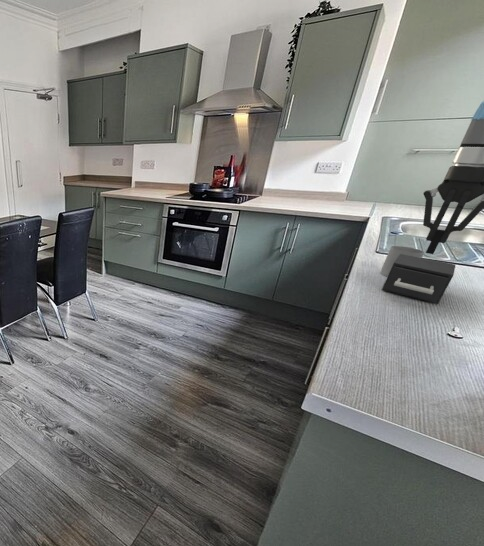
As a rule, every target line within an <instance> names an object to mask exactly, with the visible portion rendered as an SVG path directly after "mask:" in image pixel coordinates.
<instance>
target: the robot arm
mask: <svg viewBox="0 0 484 546" xmlns="http://www.w3.org/2000/svg"><path fill="white" fill-rule="evenodd" d="M451 163H452V164H454V165H451V166H449V168H448V170H447V172H446V173H445V174H446V175H445V177H444V179H443V181H442V182H441V183H440V184H439V185H438V186H437V187H435V188H432V189H430V190H429V189H428V190H424V191H423V196H424V199H425V206H424V212H423V213H424V215H423V223H422V225H423V227H426V228H428V229H429V232H428V233H427V236H426V237H425V240H426V241H428V242H430V243H429V245H428V247H427V249H426V251H425V254H429V255H434V253H435V252H436V249H437V247H438V246H439V243H440V244H445V243H446V242H448V240H449V237H450V234H451V233H453V232H461V231H463V230H464V229H465V228H466V227H467V226H468V225H469V224H470V223H471V222H472V221H473V220H474V219H475V218H476V217H477V216H478V214H479V213H481V211H483V209H484V100H483V101H482V102H481V103H479V105H478V107H477V109H476V110H475V112H474V114H473V115H472V117H471V119H470V123H469V124H468V128H467V129H466V132H465V133H464V136H463V138H462V141H461V143H460V145H459V146H458V149H457V150H456V153H455V155H454V157H453V159H452V161H451ZM437 193H439V196H440V197H441V199H442V201H443V203H442V205H441V207H440V209H439V211H438V213H437V215H436V217H435V219H434V221H433V222H431V221H432V214H433V213H432V212H433V204H434V197H436V196H437ZM479 197H480V198H479ZM477 198H479V201H480V202H479V203H478V204H477V205H476V206H475V207H474V208H473V209H471V211H470V212H469V213H468V214H467V216H466V217H464V218H463V219H462V220H461V221H460V223H459V224H458V225H456V223H457V222H458V219H459V217H460V216H461V213H462V212H463V209H464V207H465V205H466V204H468V203H470V202H472V201H474V200H475V199H477ZM451 203H457V204H456V207H455V209H454V211H453V213H452V214H451V217H450V218H449V220H448V223H447V225H446V227H445V229H439V227H440V225H441V223H442V221H443V219H444V217H445V216H446V215H445V214H446V213H447V211H448V209H449V206H450V205H451Z"/></svg>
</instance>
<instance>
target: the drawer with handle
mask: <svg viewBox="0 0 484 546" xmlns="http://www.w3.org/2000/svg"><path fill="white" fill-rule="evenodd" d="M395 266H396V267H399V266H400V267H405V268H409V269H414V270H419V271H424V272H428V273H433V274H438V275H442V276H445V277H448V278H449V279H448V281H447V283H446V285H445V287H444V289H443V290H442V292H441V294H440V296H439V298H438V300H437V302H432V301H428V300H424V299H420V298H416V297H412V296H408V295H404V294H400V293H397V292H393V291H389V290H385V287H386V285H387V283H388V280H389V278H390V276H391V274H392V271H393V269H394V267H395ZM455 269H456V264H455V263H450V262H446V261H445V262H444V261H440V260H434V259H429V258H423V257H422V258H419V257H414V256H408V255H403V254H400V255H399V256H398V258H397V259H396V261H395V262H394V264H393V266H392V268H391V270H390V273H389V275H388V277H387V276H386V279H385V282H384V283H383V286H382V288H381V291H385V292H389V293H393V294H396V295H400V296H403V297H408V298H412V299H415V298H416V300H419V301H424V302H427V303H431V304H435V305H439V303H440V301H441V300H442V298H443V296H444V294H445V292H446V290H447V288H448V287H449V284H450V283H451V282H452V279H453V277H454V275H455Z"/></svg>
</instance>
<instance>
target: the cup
mask: <svg viewBox="0 0 484 546" xmlns="http://www.w3.org/2000/svg"><path fill="white" fill-rule="evenodd" d="M400 254H403V255H408V256H414V257H419V258H423V256H424V254H425V251H424V250H422V249H418V248H415V247H411V246H410V247H409V246H403V245H392V246H390V248H389V250H388V253H387V255H386V258H385V259H384V262H383V264H382V267H381V268H380V269H381V270H380V271H379V273H380V274H381V275H382V276H385V277H386V278H387V277H388V275H389V273H390V270H391V268H392V266H393V264H394V262H395V261H396V259H397V258H398V256H399V255H400Z"/></svg>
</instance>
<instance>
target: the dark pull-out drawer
mask: <svg viewBox="0 0 484 546" xmlns="http://www.w3.org/2000/svg"><path fill="white" fill-rule="evenodd" d="M448 279H449V278H448V277H445V276H442V275H438V274H433V273H428V272H424V271H419V270H414V269H409V268H405V267H400V266H399V267H396V266H395V267H394V269H393V271H392V274H391V276H390V278H389V280H388V283H387V285H386V287H385V290H389V291H393V292H397V293H400V294H404V295H408V296H412V297H416V298H420V299H424V300H428V301H432V302H437V300H438V298H439V296H440V294H441V292H442V290H443V289H444V287H445V285H446V283H447V281H448ZM400 294H399V295H400ZM404 295H403V296H404ZM408 296H407V297H408ZM412 297H411V298H412Z"/></svg>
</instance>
